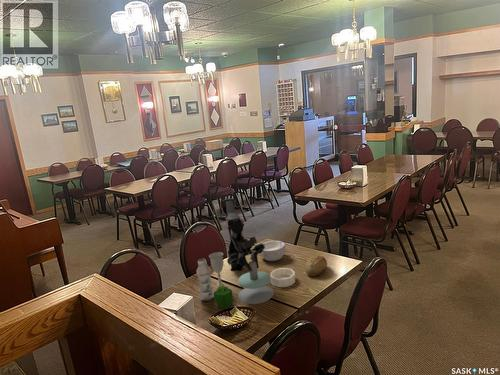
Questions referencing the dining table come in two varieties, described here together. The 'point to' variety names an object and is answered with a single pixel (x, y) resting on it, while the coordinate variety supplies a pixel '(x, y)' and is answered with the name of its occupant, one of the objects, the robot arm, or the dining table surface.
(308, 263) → the bread roll
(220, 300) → the bell pepper
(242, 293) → the mat
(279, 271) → the bowl
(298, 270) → the dining table surface
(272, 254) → the paper bowls
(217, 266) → the chalice
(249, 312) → the dining table surface
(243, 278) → the lid
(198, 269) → the plastic bottle
